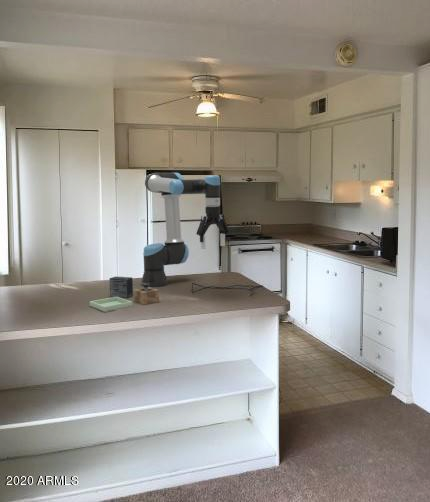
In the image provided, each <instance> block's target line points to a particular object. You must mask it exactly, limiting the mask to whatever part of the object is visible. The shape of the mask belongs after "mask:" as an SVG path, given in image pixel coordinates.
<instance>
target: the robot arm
mask: <svg viewBox="0 0 430 502" xmlns="http://www.w3.org/2000/svg"><path fill="white" fill-rule="evenodd" d="M144 185H145V188H146V189H147V191H148V192H151V193H158V194H161V197H162V198H163V201H164V215H165V217H164V218H165V231H166V234H165V235H166V240H165V241H164V243H151V244H148V245H145V246H144V247H143V252H142V253H143V254H142V255H143V274H142V278H141V281H140V283H141V286H143V285H142V283H150V285H149V286H148V287H150V288H156V287H163V286H164V287H165V286H167V285H168V278H167V275H166V271H165V266H171V265H180V264H184V263H186V262H187V260H188V257H189V255H190V253H189V252H190V251H189V250H190V249H189V247H188V245H187V244H186V243H185V240H184V239H182V227H181V213H180V197H182V195H205V200H204V201H205V207H204V208H205V215H206V216H205V215H201V217H200V218H201V219H200V222H199V225H198V228H197V231H196V234H195V235H197V236H199V243H200V249H204V250H205V249H206V235H205V234H206V232H207V231H208V230H209V228H210V226H211V225H216V226H217V229H219V231H220V232H221V233H220V234H219V235H220V236H219V237H220V238H219V239H220V242H219V243H220V244H219V245H220V247H226V238H227V237H226V235H227V234H228V233H229V232H230V231H229V228H228V224H227V222H226V220H225V214H221V207H220V206H221V178H220V176H219V175H206V176H205V178H197V179H184V177H183V176H182V175H181V173H180V172H153V173H150V174H148V175H147V177H145V180H144Z"/></svg>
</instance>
